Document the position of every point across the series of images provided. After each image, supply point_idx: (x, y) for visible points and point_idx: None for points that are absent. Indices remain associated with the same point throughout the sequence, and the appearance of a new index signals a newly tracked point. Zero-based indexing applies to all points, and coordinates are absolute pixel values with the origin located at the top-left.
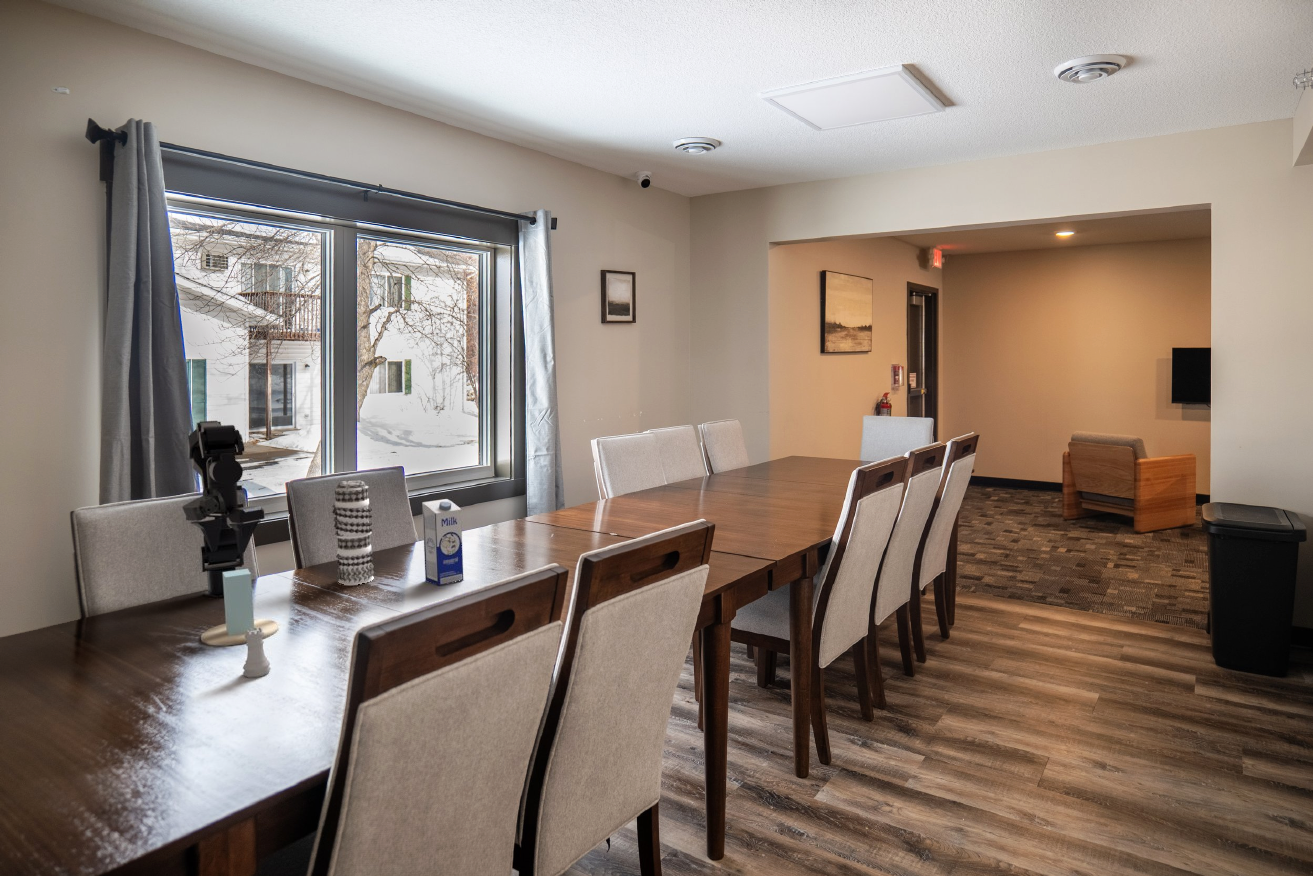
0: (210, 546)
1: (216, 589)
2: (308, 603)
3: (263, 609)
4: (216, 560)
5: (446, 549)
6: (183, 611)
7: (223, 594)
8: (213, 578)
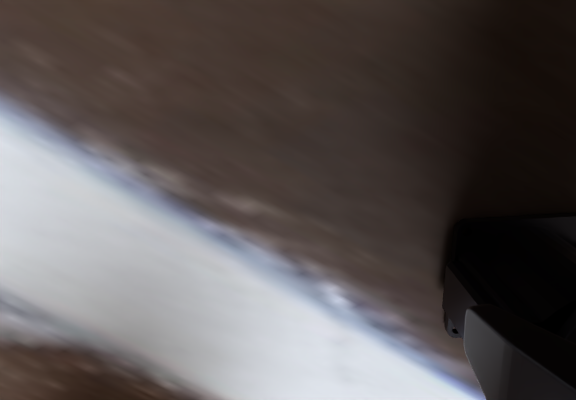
0: (514, 333)
1: (505, 247)
2: (27, 367)
3: (102, 230)
4: (571, 341)
5: None
6: (428, 7)
7: (459, 250)
8: (553, 271)
